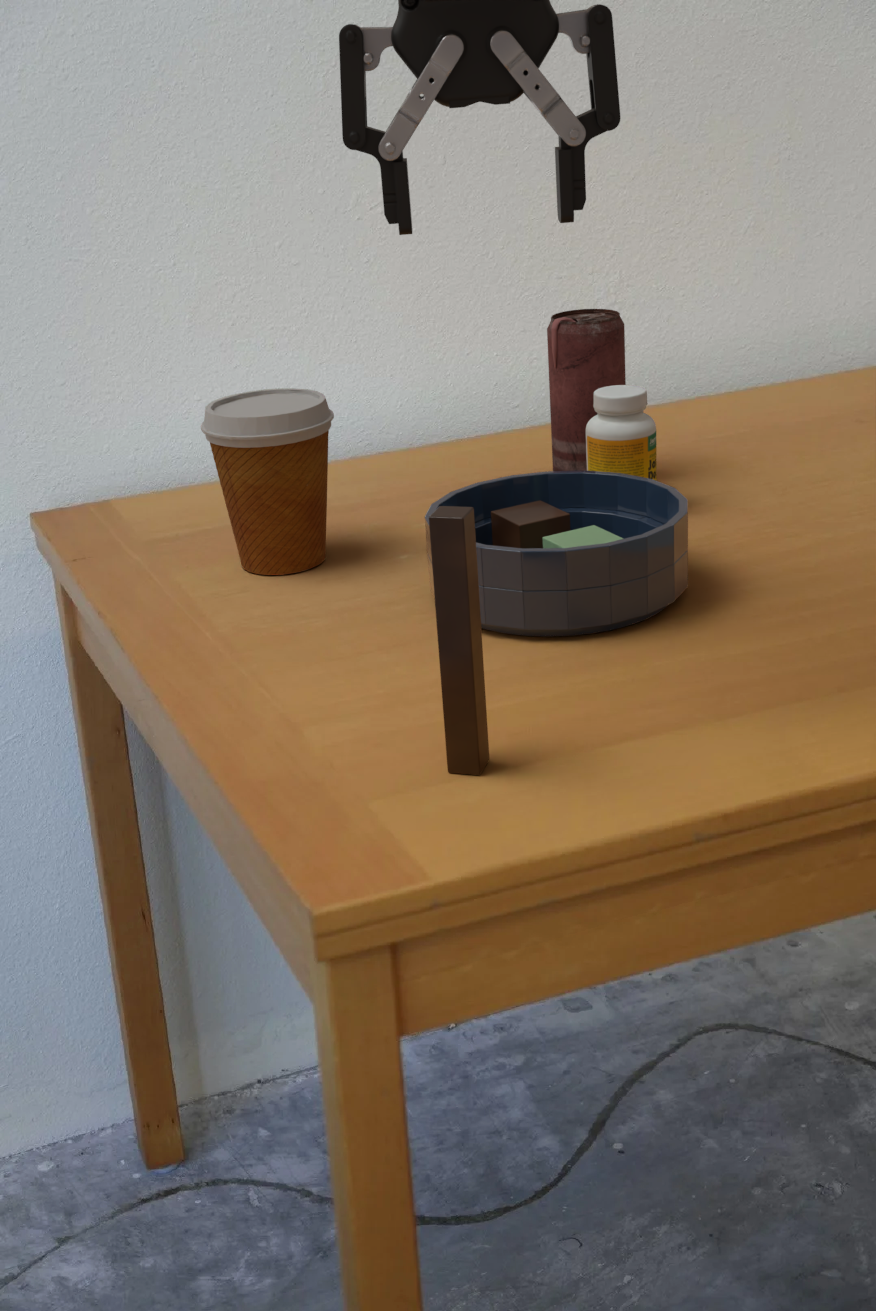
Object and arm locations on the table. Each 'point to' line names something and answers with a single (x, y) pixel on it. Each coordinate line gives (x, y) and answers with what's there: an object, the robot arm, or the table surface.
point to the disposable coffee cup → (273, 475)
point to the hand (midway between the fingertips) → (486, 227)
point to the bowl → (578, 553)
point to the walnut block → (527, 524)
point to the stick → (459, 638)
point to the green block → (579, 538)
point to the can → (580, 376)
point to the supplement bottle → (621, 433)
